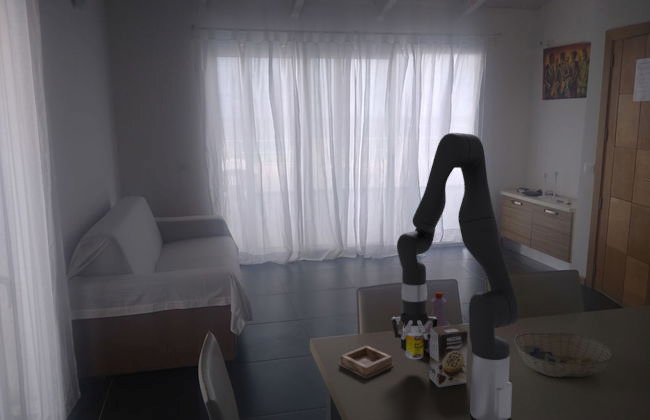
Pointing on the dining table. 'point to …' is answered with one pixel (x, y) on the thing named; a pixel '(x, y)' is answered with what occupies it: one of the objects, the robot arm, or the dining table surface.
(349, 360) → the walnut collar stand
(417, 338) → the supplement bottle
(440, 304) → the flask
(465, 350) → the coffee box
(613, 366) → the dining table surface
